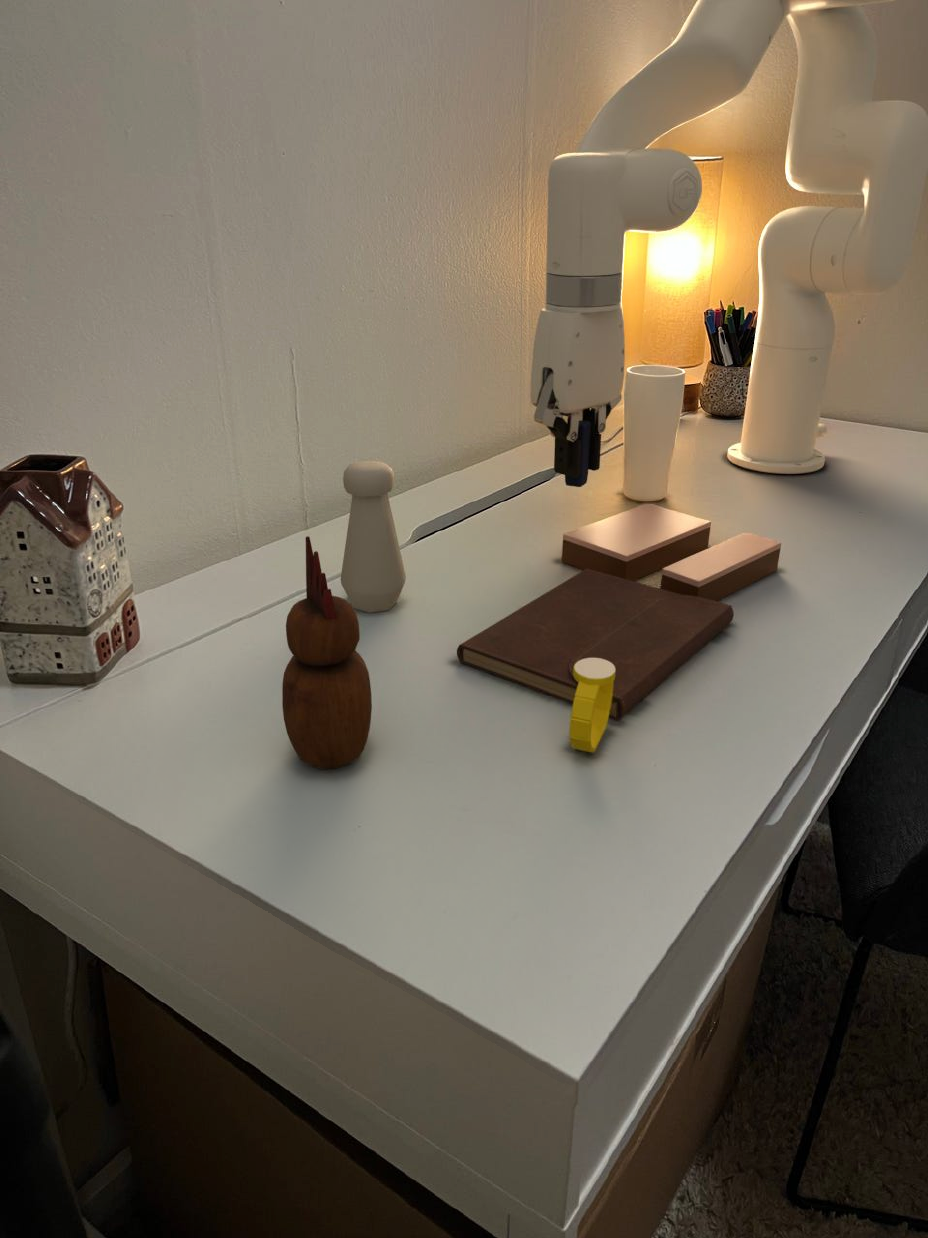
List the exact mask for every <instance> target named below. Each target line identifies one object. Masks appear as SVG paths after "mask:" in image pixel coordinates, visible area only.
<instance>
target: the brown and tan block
mask: <svg viewBox="0 0 928 1238" xmlns="http://www.w3.org/2000/svg"><path fill="white" fill-rule="evenodd" d="M711 526H712V521H711V520H707V519H703V518H701V517H697V516H693V515H690V514H686V513H683V512H680V511H676V510H673V509H670V508H666V507H662V506H659V505H656V504H653V503H650V502H647V503H645V504H641V505H639V506H637V507H633V508H631V509H629V510H625V511H623V512H620V513H617V514H615V515H612V516H609V517H606V518H603V519H601V520H598V521H595V522H592V523H590V524H589V523H588V524H586V525H584V526H580V527H579V528H576V529H573V530H570V531H567V532H565V533H562V547H561V548H562V549H561V562H562V563H564V564H567V565H570V566H573V567H575V568H577V569H581V570H582V571H583V570H585V569H591V570H594V571H598V572H602V573H605V574H609V575H613V576H616V577H620V578H623V579H627V580H631V581H634V582H636V581H637V580H639V579H642V578H644V577H647V576H648V575H651V574H653V573H655V572H658V571H659V570H662V569H663V568H665V567H667V566H670V565H672V564H674V563H676V562H679V561H681V560H683V559H686V558H688V557H690V556H692V555H695V554H697V553H699V552H701V551H704V550H706V549H708V548H709V542H710V535H711Z"/></svg>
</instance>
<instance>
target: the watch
mask: <svg viewBox="0 0 928 1238" xmlns="http://www.w3.org/2000/svg"><path fill="white" fill-rule="evenodd" d="M615 672H616V669H615V666H614V665H613V664H612V663H611V662H609V661H607V660H604V659H601V658H586V659H582V660H580V661H578V662H577V663H576V664H575V665H574V669H573V676H574V679H575V680H576V681H577V682H579V683H578V686H577V689H576V693H575V698H574V701H573V704H572V707H571V711H570V712H571V713H570V719H569V734H568V735H569V742H570V746H571V749H574V750H578V751H583V752H587V753H592V754H594V753H596V750H597V748H598V745H599V743H600V742H601V740H602V737H603V735H604V733H605V732H606V729H607V726H608V722H609V719H610V718H609V714H610V709H611V703H612V696H613V683H614V679H615Z"/></svg>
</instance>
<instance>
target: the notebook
mask: <svg viewBox="0 0 928 1238" xmlns="http://www.w3.org/2000/svg"><path fill="white" fill-rule="evenodd" d="M733 620H734V609H733V606H732V605H731V604H728V603H724V602H721V601H714V600H710V599H707V598H703V597H698V596H692V595H682V594H678V593H674V592H671V591H667V590H663V589H660V587H656V586H653V585H648V584H646V583H645V584H644V583H641V582H639V581H631V580H627V579H623V578H620V577H616V576H613V575H609V574H605V573H602V572H598V571H594V570H591V569H585V570H583V569H582V571H580V572H579V573H577V574H575V575H573V576H572V577H570V578H568V579H566V580H565V581H563V582H562V583H560V584H558V585H557V586H555V587H553V588H552V589H550V590H548V591H547V592H545V593H543V594H541V595H540V596H538V597H537V598H535V599H533V600H531V601H530V602H529V603H527V604H525V605H524V606H522V607H520V608H518V609H517V610H515V611H514V612H512V613H510V614H509V615H506V616H505V617H503V618H502V619H500V620H499V621H496V622H495V623H494V624H491V625H490V626H488V627H487V628H485V629H483V630H482V631H480V632H478V633H476V634H475V635H473V636H471V637H470V638H468V639H467V640H465V641H463V642H462V643H460V644H459V645H458V647H457V648H456V657H457V659H458V662H460V663H461V664H463V665H466V666H469V667H471V668H475V669H478V670H480V671H483V672H485V673H488V674H491V675H494V676H496V677H499V678H502V679H505V680H506V681H509V682H512V683H514V684H517V685H520V686H523V687H526V688H528V689H531V690H534V691H535V692H539V693H542V694H544V695H546V696H550V697H552V698H556V699H558V700H561V701H564V702H566V703H569V704H571V705H573V701H574V698H575V693H576V689H577V686H578V683H579V682H577V681H576V680H575V679H574V676H573V669H574V665H575V664H576V663H577V662H578V661H580V660H582V659H586V658H601V659H604V660H607V661H609V662H611V663H612V664H613V665H614V666H615V669H616V672H615V679H614V683H613V696H612V703H611V709H610V714H609V718H608V719H612V720H614V721H617V722H619V721H620V720H621V719H622V718H624V717H625V716H626V715H627V714H628V713H629V712H630V711H631V710H633V709H634V708H635V707H636V706H637V705H638V704H640V703H641V702H642V701H643V700H644V699H646V697H648V696H649V695H650V694H651V693H652V692H653V691H655V690H656V689H657V688H658V687H659V686H660V685H662V683H664V682H665V681H666V680H667V679H668V678H669V677H671V676H672V675H673V674H674V673H675V672H676V671H678V669H680V668H681V667H682V666H683V665H684V664H685V663H686V662H688V661H689V660H690V659H691V658H692V657H694V656H695V655H696V654H697V653H699V651H700V650H702V648H704V647H705V646H706V645H707V644H708V643H710V642H711V641H712V640H713V639H714V638H715V637H716V636H718V635H719V634H720V633H721V632H722V631H723V630H724V629H726V628H727V627H728V626H729V625H730V624H731V622H732V621H733Z"/></svg>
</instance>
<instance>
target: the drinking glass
mask: <svg viewBox="0 0 928 1238" xmlns="http://www.w3.org/2000/svg"><path fill="white" fill-rule="evenodd" d="M625 374H626V375H625V378H624V379H625V381H624V388H623V403H622V426H623V427H622V428H623V429H622V431H623V433H622V435H623V436H622V437H623V441H622V443H623V446H622V447H623V476H622V477H623V478H622V493H623V495H624V496H625V497H626V498H628V499H629V500H632V501H636V502H647V503H650V502H657V501H661V500H664V498H666V496H667V494H668V491H669V481H670V474H671V469H672V463H673V458H674V452H675V449H676V442H677V438H678V433H679V432H678V431H679V427H680V423H681V417H682V411H683V405H684V396H685V384H686V371H685V370H684V369H682V368H679V367H676V366H671V365H661V364H642V365H633V366H631V367H628V368H627V369H626V372H625Z"/></svg>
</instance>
